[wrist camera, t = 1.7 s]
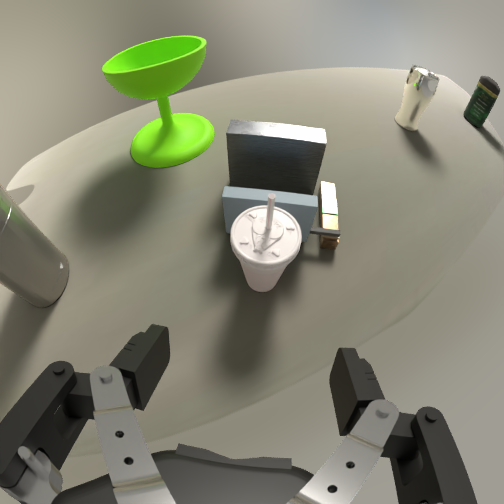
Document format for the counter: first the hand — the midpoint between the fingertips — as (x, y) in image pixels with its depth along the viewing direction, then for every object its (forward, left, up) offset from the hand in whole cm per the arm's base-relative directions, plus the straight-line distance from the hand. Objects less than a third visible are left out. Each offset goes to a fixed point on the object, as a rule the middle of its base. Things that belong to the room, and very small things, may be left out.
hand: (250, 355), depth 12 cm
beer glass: (+30, +54, -17) cm, 64 cm away
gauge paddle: (+2, +17, -16) cm, 24 cm away
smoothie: (0, +12, -17) cm, 21 cm away
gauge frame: (+1, +22, -17) cm, 28 cm away
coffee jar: (+65, +74, -17) cm, 100 cm away
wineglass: (-19, +37, -17) cm, 45 cm away
